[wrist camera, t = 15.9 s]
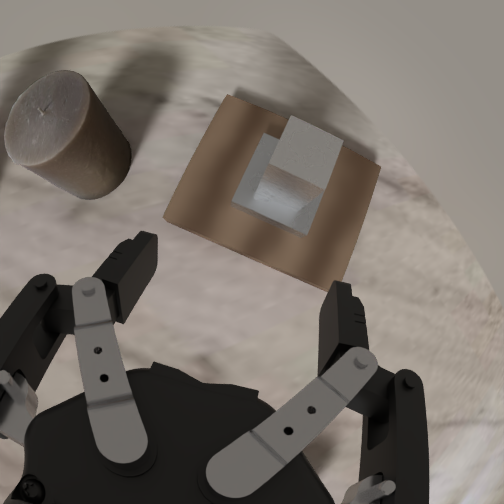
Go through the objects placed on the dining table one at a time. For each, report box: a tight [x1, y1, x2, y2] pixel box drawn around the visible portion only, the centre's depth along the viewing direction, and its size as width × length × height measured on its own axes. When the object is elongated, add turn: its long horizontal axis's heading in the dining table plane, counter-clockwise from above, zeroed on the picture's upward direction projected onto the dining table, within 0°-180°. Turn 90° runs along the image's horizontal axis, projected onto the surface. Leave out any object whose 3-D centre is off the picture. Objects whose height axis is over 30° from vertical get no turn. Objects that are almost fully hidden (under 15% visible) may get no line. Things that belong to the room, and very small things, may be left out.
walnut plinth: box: [163, 94, 381, 292], centre depth 35 cm, size 20×16×3 cm
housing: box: [231, 115, 344, 238], centre depth 28 cm, size 8×8×11 cm
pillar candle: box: [4, 70, 131, 200], centre depth 27 cm, size 10×10×15 cm
